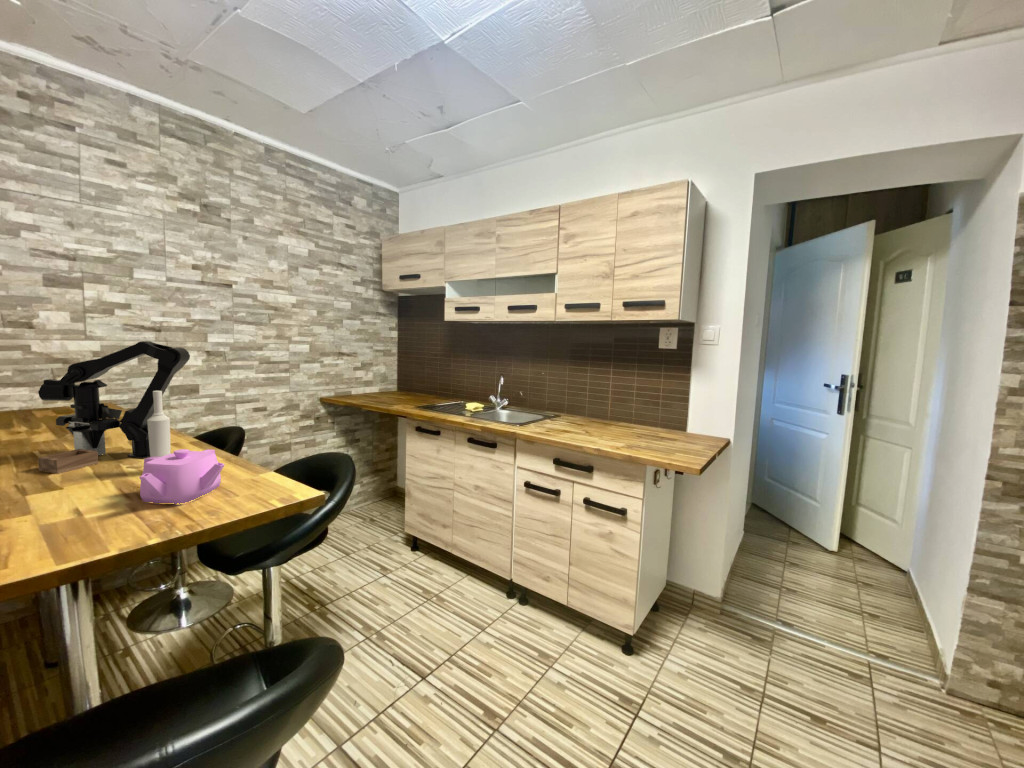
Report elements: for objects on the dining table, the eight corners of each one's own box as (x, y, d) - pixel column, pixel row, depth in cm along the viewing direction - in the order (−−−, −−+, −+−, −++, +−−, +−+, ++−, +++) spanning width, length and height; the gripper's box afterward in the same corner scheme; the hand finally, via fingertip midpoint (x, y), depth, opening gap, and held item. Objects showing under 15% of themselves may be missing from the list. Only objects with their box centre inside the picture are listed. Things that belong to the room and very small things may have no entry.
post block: (98, 463, 127) (97, 451, 126) (57, 473, 117) (56, 460, 117) (80, 461, 128) (79, 448, 128) (39, 470, 119) (38, 457, 118)
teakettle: (216, 479, 120) (214, 438, 119) (227, 497, 108) (225, 453, 107) (138, 492, 108) (136, 447, 107) (141, 514, 96) (138, 464, 95)
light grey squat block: (105, 454, 135) (104, 428, 134) (83, 459, 129) (81, 432, 128) (97, 453, 136) (95, 427, 135) (75, 458, 130) (73, 431, 129)
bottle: (145, 472, 121) (141, 391, 118) (165, 468, 126) (161, 389, 123) (156, 475, 120) (152, 393, 117) (176, 470, 125) (172, 391, 122)
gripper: (137, 399, 136) (139, 444, 138) (95, 395, 140) (98, 438, 142) (97, 405, 125) (100, 453, 127) (52, 399, 129) (56, 446, 131)
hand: (90, 447), depth 132 cm, fingers closed on light grey squat block, 3 cm apart
